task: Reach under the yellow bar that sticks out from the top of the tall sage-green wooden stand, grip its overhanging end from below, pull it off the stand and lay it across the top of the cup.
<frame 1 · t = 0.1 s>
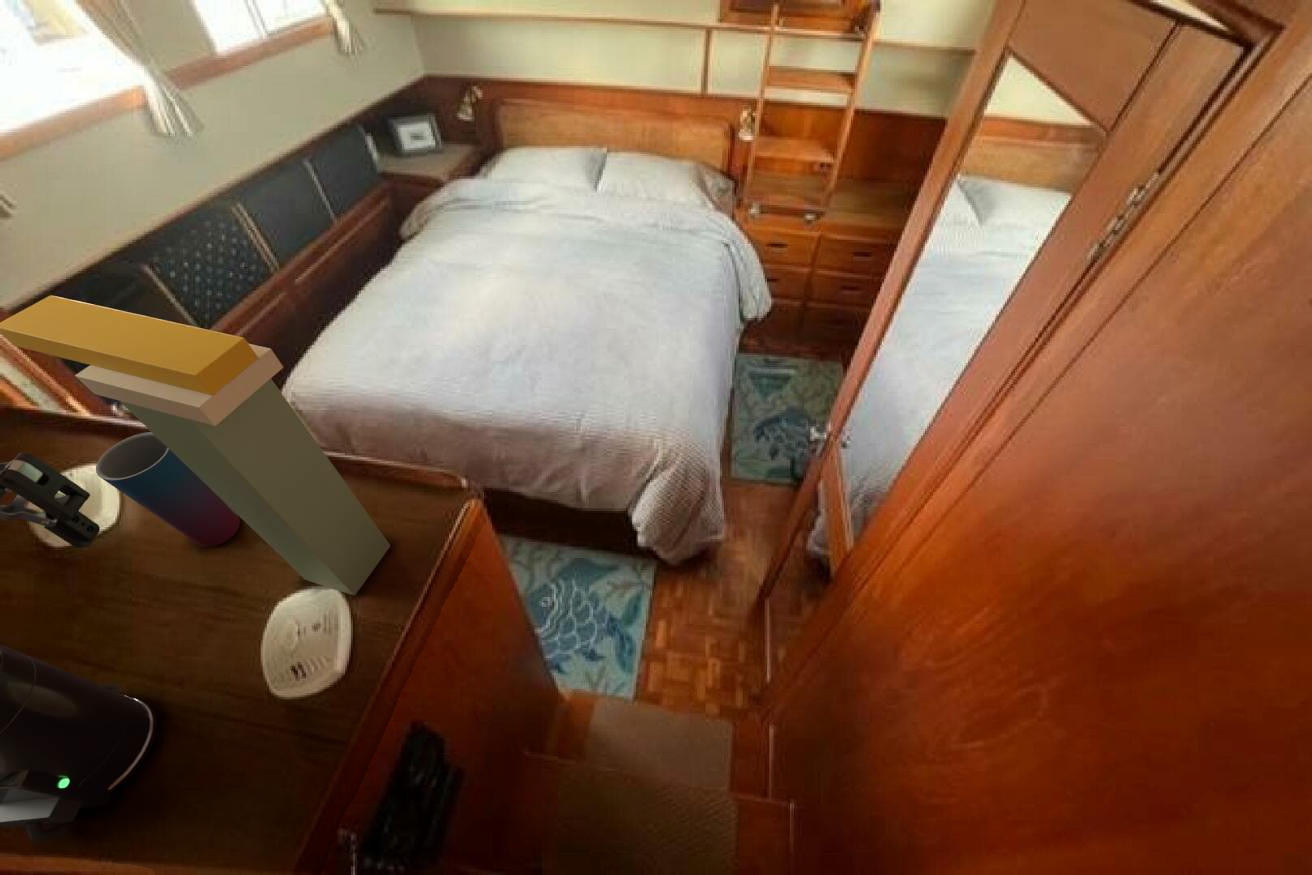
hand: (40, 542, 48), 17 cm above the cabinet, tool pointing down, fingers open, 8 cm apart
yellow bar: (135, 352, 43), point 32 cm above the cabinet, touching stand
cup: (219, 530, 69), on the cabinet
stand: (349, 562, 66), on the cabinet
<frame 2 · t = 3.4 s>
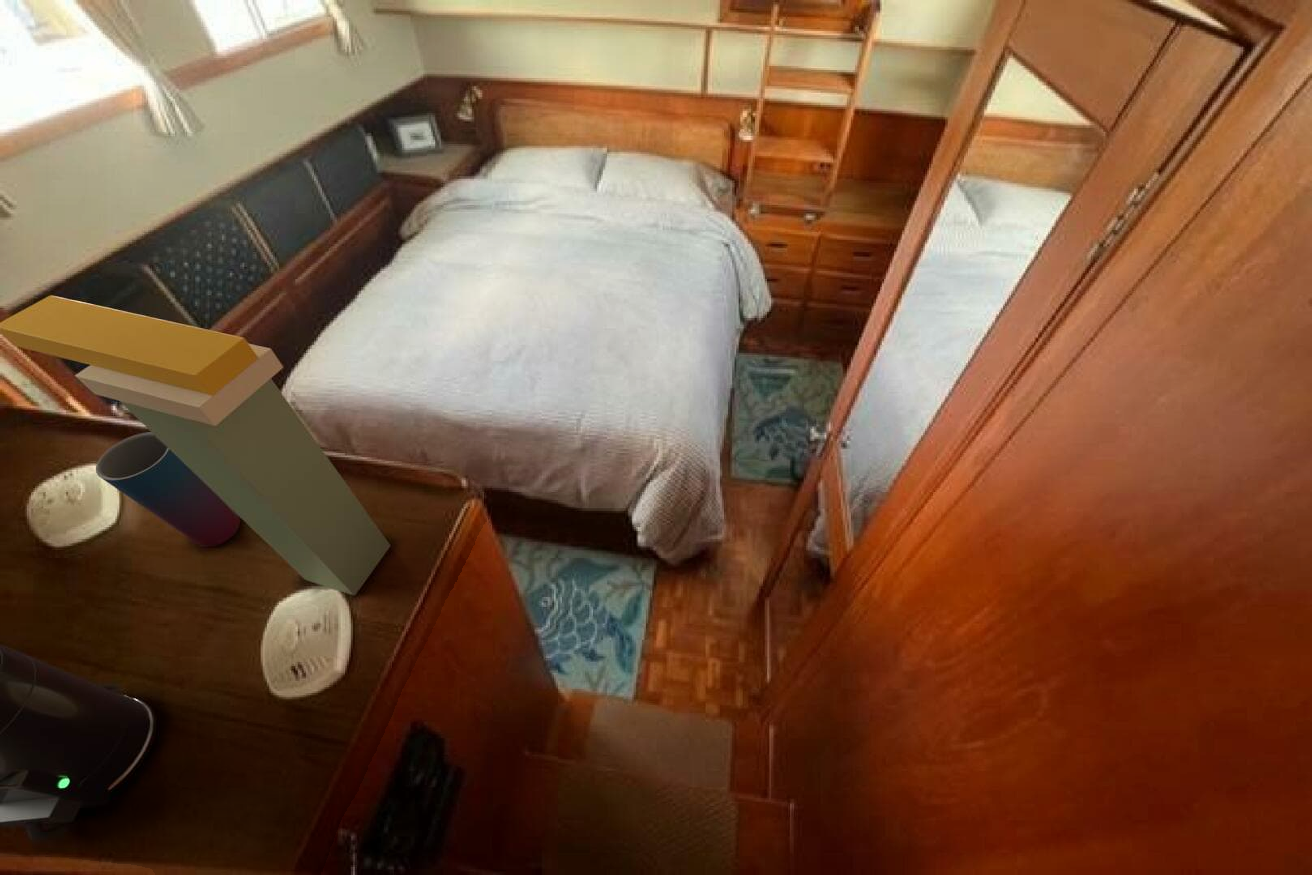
nothing on the cabinet moved.
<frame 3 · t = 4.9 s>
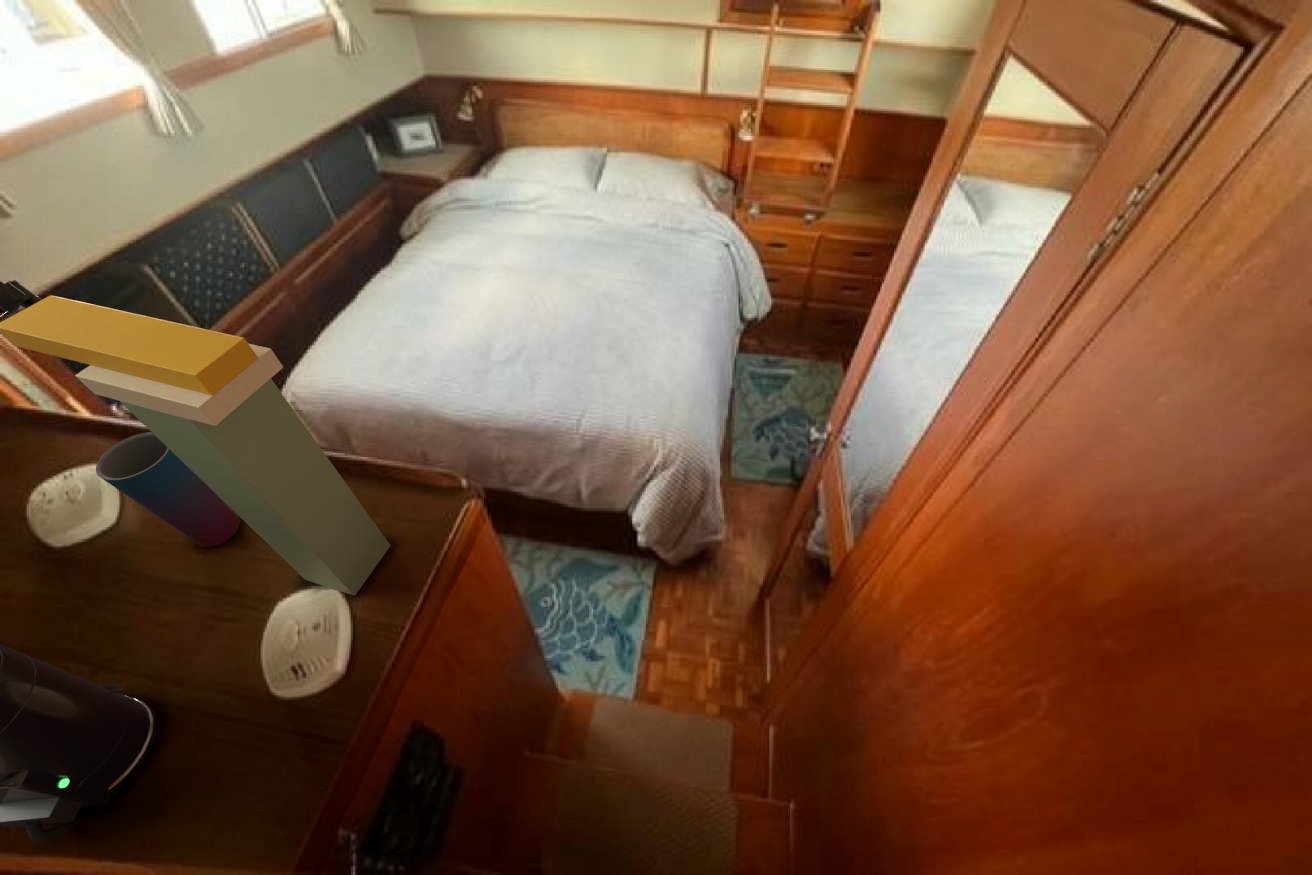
nothing on the cabinet moved.
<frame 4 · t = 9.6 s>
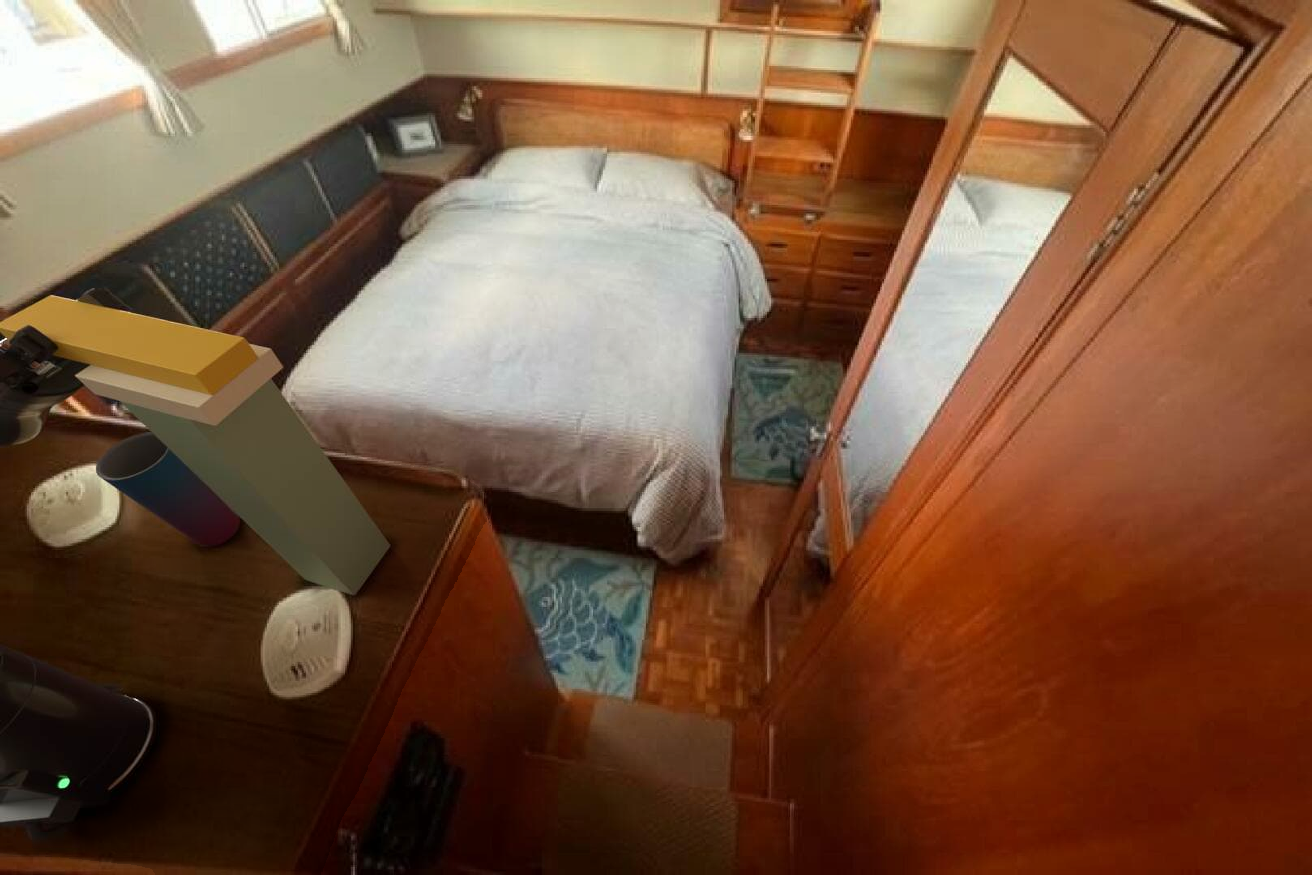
hand: (73, 318, 42), 34 cm above the cabinet, tool pointing upward, fingers closed on yellow bar, 4 cm apart
yellow bar: (135, 352, 43), point 32 cm above the cabinet, touching gripper, stand
everything else where it was.
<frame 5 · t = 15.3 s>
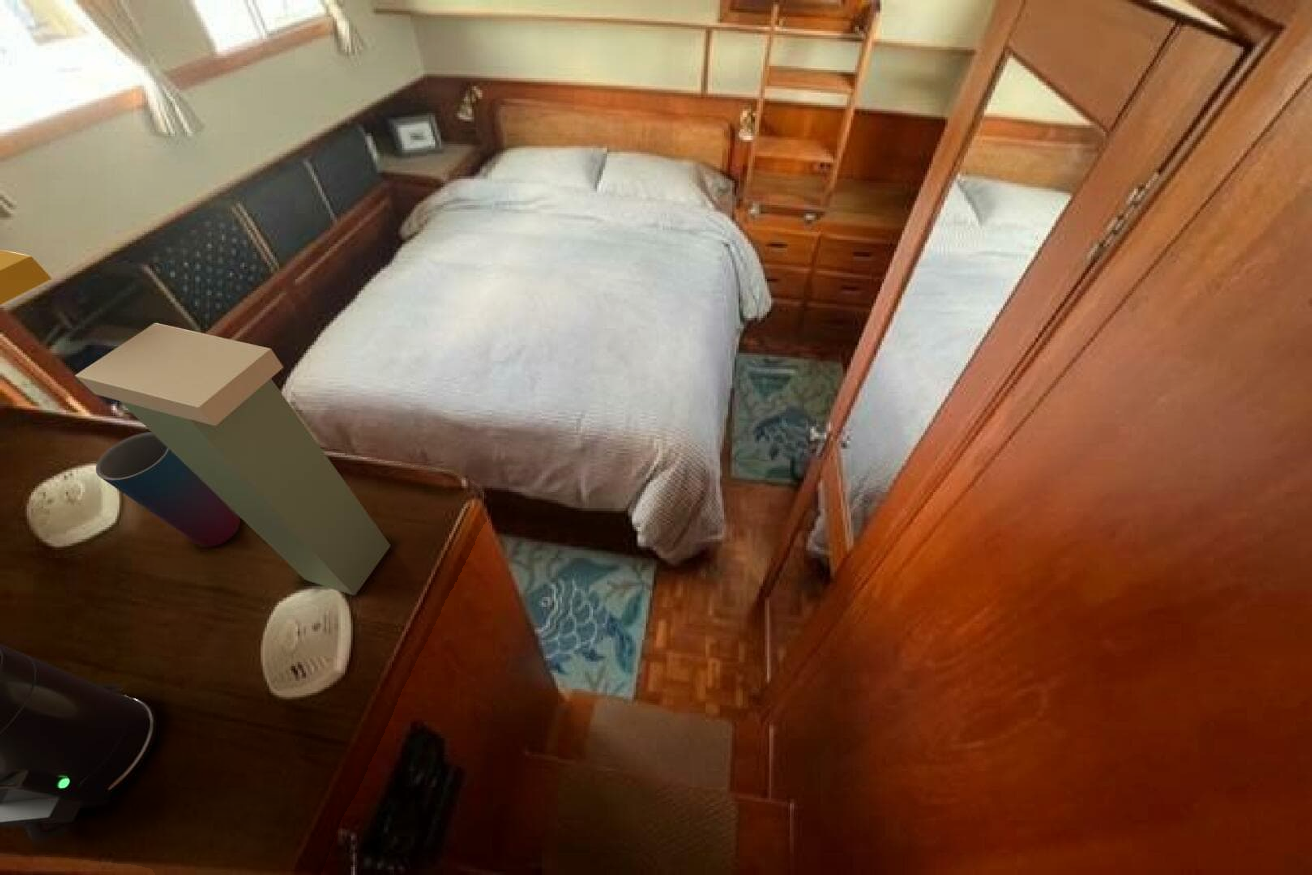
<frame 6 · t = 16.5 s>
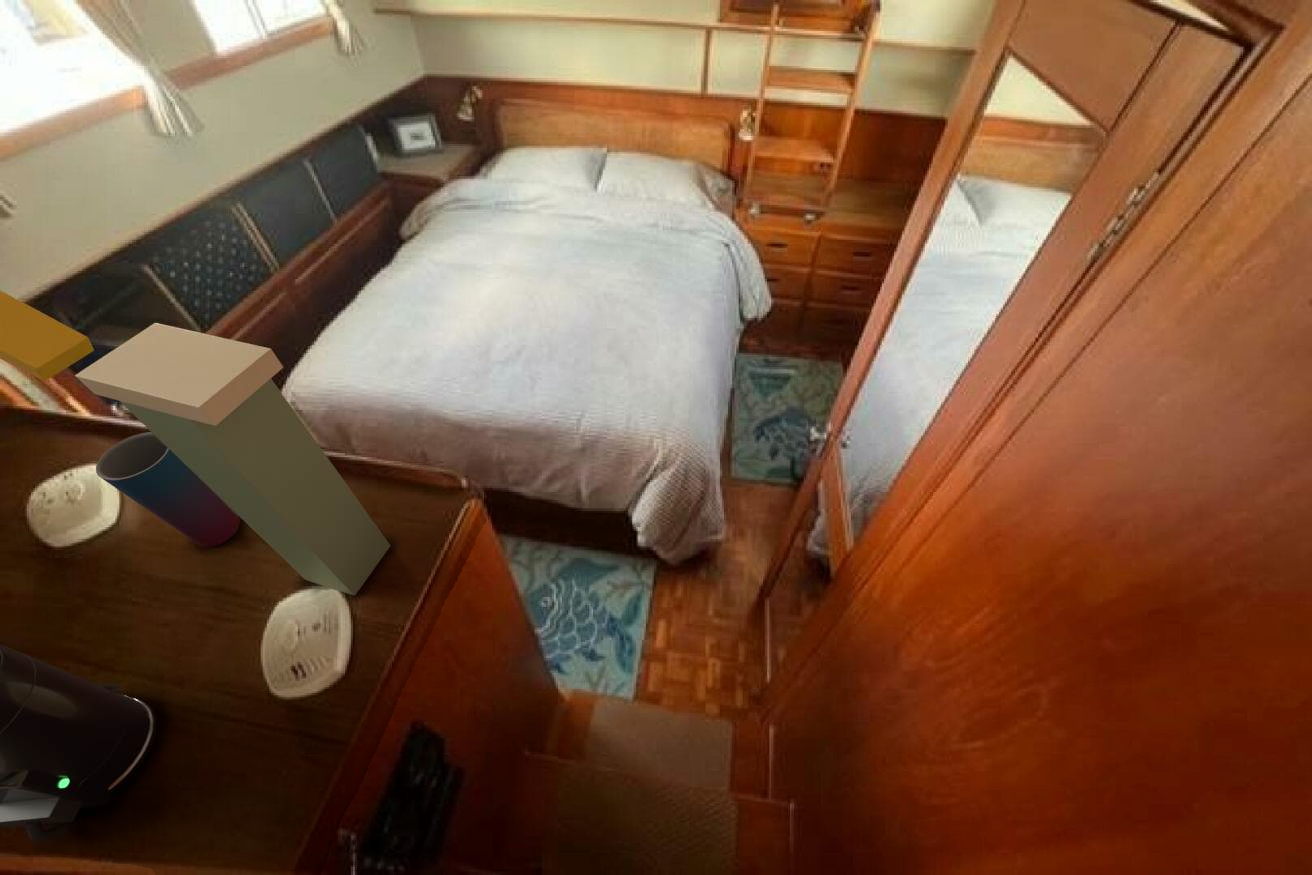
when the fingers open (21 cm above the cabinet, at t = 21.1 s): yellow bar drops 2 cm, resting on cup.
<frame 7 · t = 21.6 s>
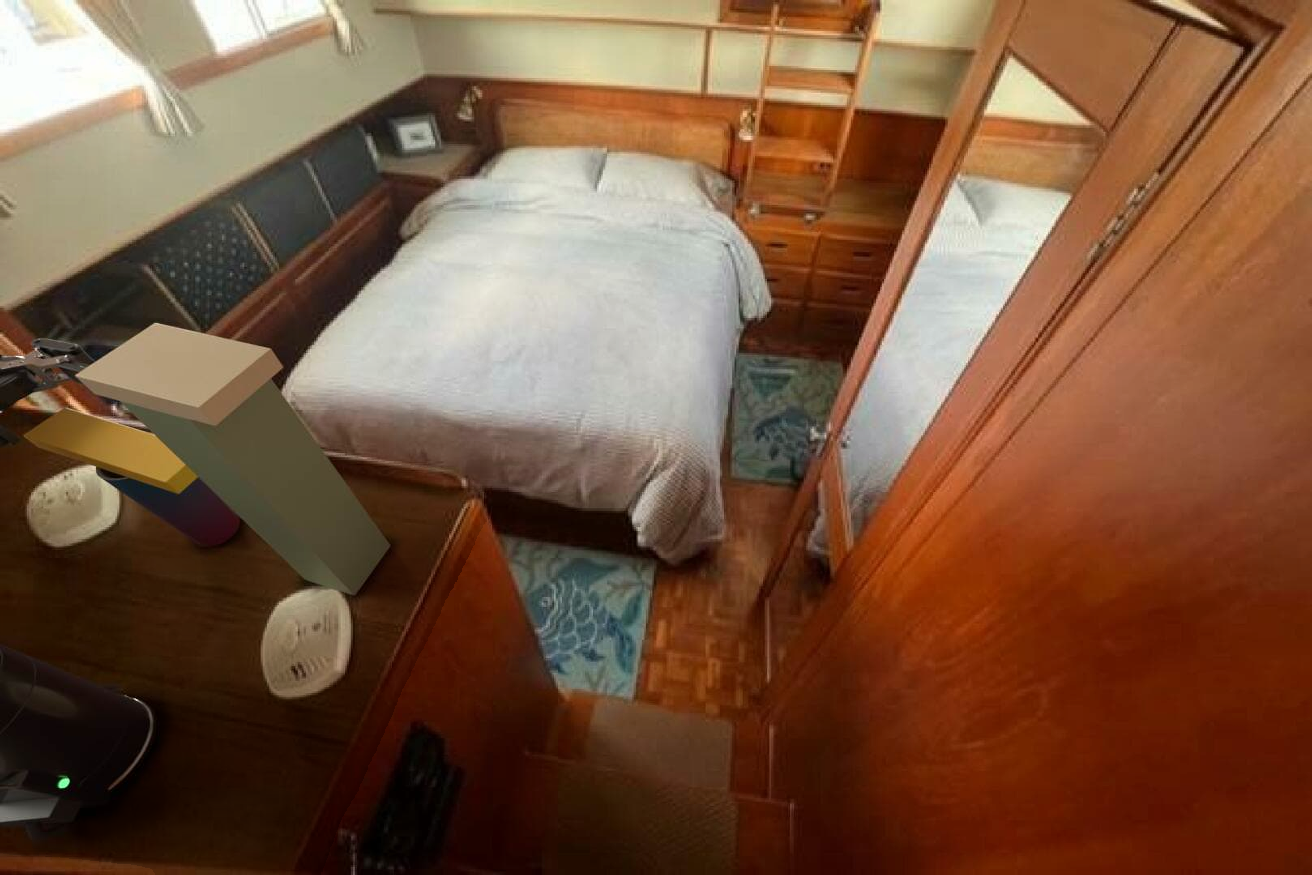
hand: (55, 406, 53), 22 cm above the cabinet, tool horizontal, fingers open, 8 cm apart
yellow bar: (126, 454, 58), point 15 cm above the cabinet, touching cup
cup: (219, 530, 69), on the cabinet, touching yellow bar
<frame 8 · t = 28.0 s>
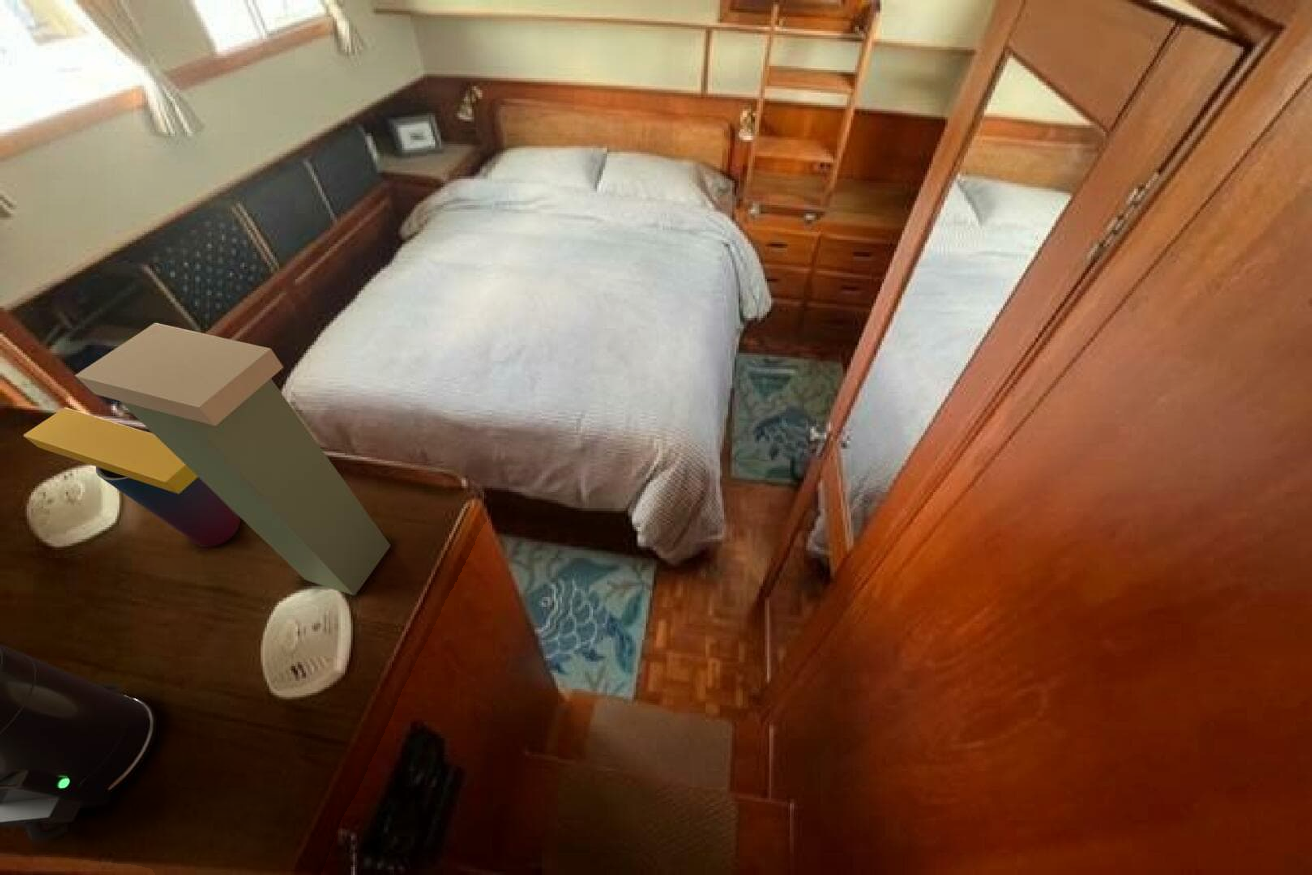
nothing on the cabinet moved.
at the end: yellow bar 0.8 cm from the cup (horizontally); yellow bar point 15.0 cm above the cabinet; cup tilted 0° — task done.
